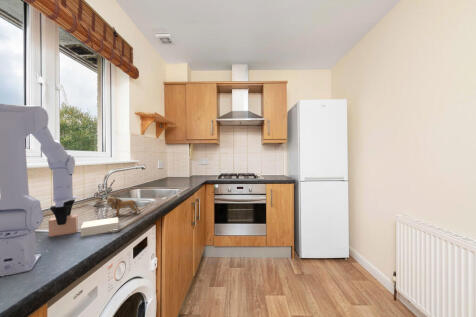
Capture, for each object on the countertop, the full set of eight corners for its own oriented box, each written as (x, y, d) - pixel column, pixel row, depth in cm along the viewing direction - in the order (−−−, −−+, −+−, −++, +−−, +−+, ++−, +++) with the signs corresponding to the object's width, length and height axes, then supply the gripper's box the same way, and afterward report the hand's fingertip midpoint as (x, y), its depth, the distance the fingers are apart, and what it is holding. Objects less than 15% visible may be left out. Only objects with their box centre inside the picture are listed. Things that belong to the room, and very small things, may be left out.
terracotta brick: (76, 232, 81) (75, 217, 81) (48, 237, 77) (48, 220, 77) (78, 229, 85) (77, 214, 85) (52, 232, 81) (51, 217, 81)
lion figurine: (106, 217, 100) (106, 198, 99) (107, 214, 104) (107, 196, 104) (140, 213, 106) (140, 195, 106) (140, 210, 111) (139, 193, 111)
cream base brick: (118, 231, 83) (118, 222, 83) (80, 237, 77) (80, 228, 77) (118, 225, 90) (118, 217, 90) (83, 230, 84) (83, 221, 84)
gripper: (72, 188, 76) (74, 225, 77) (78, 183, 89) (79, 215, 89) (47, 189, 73) (48, 229, 73) (57, 184, 85) (58, 217, 86)
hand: (64, 221), depth 81 cm, fingers open, 7 cm apart
